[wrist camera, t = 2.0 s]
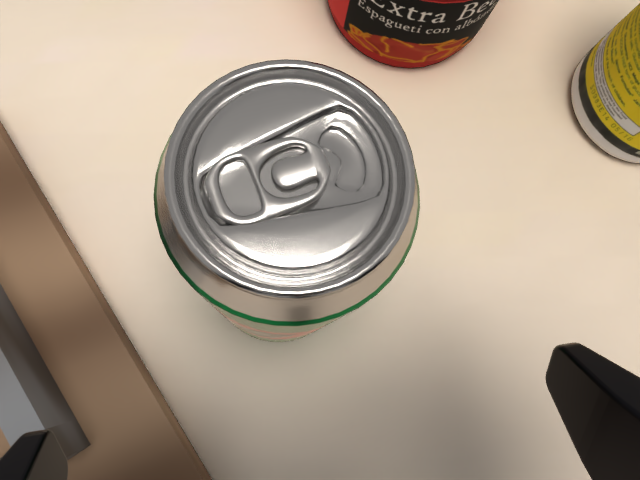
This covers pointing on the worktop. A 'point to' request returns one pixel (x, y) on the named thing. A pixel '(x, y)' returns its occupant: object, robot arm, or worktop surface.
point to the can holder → (73, 352)
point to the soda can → (287, 197)
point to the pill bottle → (612, 90)
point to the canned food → (410, 27)
